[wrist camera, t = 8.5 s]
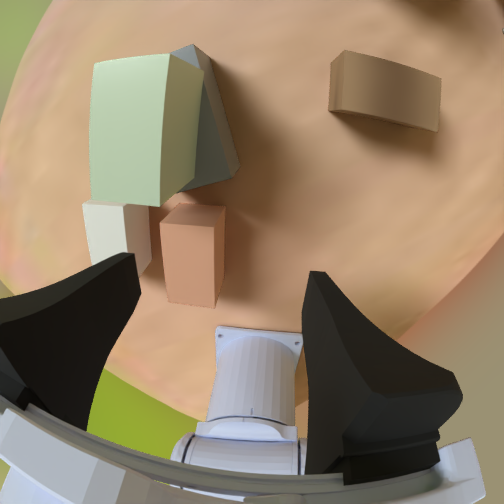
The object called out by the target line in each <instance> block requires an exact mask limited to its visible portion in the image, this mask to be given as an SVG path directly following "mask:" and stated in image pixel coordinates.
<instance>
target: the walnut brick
mask: <svg viewBox="0 0 504 504" xmlns="http://www.w3.org/2000/svg"><path fill="white" fill-rule="evenodd" d="M440 100H441V78H439V77H436V76H434V75H431V74H428V73H426V72H423V71H420V70H417V69H414V68H411V67H408V66H405V65H402V64H399V63H395V62H392V61H388V60H385V59H381V58H377V57H373V56H369V55H365V54H361V53H356V52H351V51H346V50H344V51H343V52H342V53H341V54H340V55H339V56H338V57H337V58H336V59H334V60H333V61H332V62H331V72H330V90H329V105H328V111H334V112H340V113H346V114H352V115H358V116H363V117H368V118H373V119H378V120H382V121H387V122H391V123H395V124H399V125H403V126H407V127H411V128H417V129H423V130H428V131H433V132H438V125H439V114H440Z"/></svg>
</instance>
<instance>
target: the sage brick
mask: <svg viewBox="0 0 504 504" xmlns="http://www.w3.org/2000/svg"><path fill="white" fill-rule="evenodd" d="M203 78H204V71H203V70H201V69H199V68H197V67H195V66H193V65H192V64H190V63H188V62H186V61H184V60H182V59H180V58H178V57H176V56H174V55H172V54H156V55H145V56H136V57H128V58H121V59H115V60H109V61H103V62H98V63H94V71H93V80H92V91H91V104H90V127H89V162H90V185H91V199H92V200H97V201H108V202H119V203H129V204H138V205H148V206H157V207H160V206H161V205H163V204H164V203H165V202H166V201H167V200H168V199H169V198H171V197H172V196H173V195H174V194H175V193H177V192H178V191H179V190H180V189H181V188H183V187H184V186H185V185H186V184H187V183H189V182H190V181H191V180H192V179H194V175H195V160H196V147H197V135H198V124H199V113H200V104H201V95H202V86H203Z"/></svg>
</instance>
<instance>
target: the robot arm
mask: <svg viewBox="0 0 504 504" xmlns="http://www.w3.org/2000/svg"><path fill="white" fill-rule="evenodd" d="M140 295H141V288H140V283H139V277H138V271H137V265H136V259H135V253H127V252H121V253H118V254H116V255H113V256H111V257H109V258H107V259H105V260H103V261H101V262H99V263H97V264H95V265H93V266H91V267H89V268H87V269H85V270H83V271H81V272H79V273H76V274H74V275H72V276H70V277H68V278H66V279H64V280H62V281H59V282H57V283H54V284H52V285H49V286H47V287H44V288H41V289H38V290H34V291H31V292H28V293H25V294H21V295H17V296H13V297H8V298H2V299H0V458H1V459H2V460H4V461H5V462H6V463H7V464H8V465H10V466H11V468H10V470H9V472H8V475H7V477H6V479H5V482H4V484H3V487H2V489H1V492H0V504H473V503H475V502H477V501H478V500H480V499H482V498H484V497H485V495H486V492H485V487H484V483H483V478H482V474H481V471H480V466H479V463H478V459H477V456H476V452H475V449H474V445H473V443H472V439H471V438H470V437H468V438H466V439H462V440H460V441H457V442H454V443H450V444H448V445H445V446H443V447H441V448H439V449H437V445H436V442H437V441H438V440H439V439H440V434H439V431H438V429H439V428H440V427H441V426H442V425H443V424H444V423H445V422H446V421H447V420H448V419H449V418H450V417H451V416H452V415H453V414H454V413H455V412H456V410H457V409H458V408H459V406H460V404H461V402H462V399H463V394H462V391H461V389H460V387H459V385H458V382H457V380H456V378H455V376H454V373H453V372H451V371H449V370H446V369H444V368H442V367H440V366H438V365H435V364H433V363H431V362H429V361H427V360H425V359H423V358H421V357H420V356H418V355H416V354H414V353H413V352H411V351H410V350H408V349H406V348H405V347H403V346H402V345H400V344H399V343H397V342H396V341H395V340H393V339H392V338H390V337H389V336H388V335H386V334H385V333H384V332H382V331H381V330H380V329H379V328H378V327H377V326H375V325H374V324H373V323H372V322H371V321H370V320H368V319H367V318H366V317H365V316H364V315H363V314H362V313H361V312H360V311H359V310H358V309H357V308H356V307H355V306H354V305H353V304H352V302H351V301H350V300H349V299H348V298H347V297H346V296H345V295H344V294H343V292H342V291H341V290H340V289H339V288H338V286H337V285H336V284H335V283H334V282H333V280H332V279H331V278H330V277H329V276H328V275H327V273H326V272H319V271H310V273H309V278H308V283H307V289H306V293H305V298H304V303H303V308H302V334H300V333H288V332H276V331H264V330H254V329H244V328H235V327H226V326H218V327H216V330H215V339H216V364H217V371H216V376H215V380H214V385H213V389H212V394H211V398H210V403H209V407H208V412H207V416H206V421H205V422H198V424H197V428H196V432H195V433H194V432H188V433H186V434H185V435H184V436H183V437H182V438H181V439H180V440H179V441H178V442H177V444H176V445H175V447H174V449H173V452H172V455H171V459H170V460H169V459H165V458H161V457H157V456H153V455H150V454H146V453H143V452H140V451H137V450H133V449H130V448H127V447H124V446H121V445H118V444H116V443H113V442H110V441H108V440H105V439H103V438H100V437H98V436H95V435H92V434H90V433H88V432H86V431H87V425H88V419H89V414H90V409H91V405H92V402H93V398H94V394H95V391H96V388H97V384H98V381H99V379H100V376H101V373H102V370H103V368H104V365H105V363H106V360H107V358H108V356H109V354H110V352H111V350H112V348H113V346H114V344H115V343H116V341H117V339H118V337H119V336H120V334H121V332H122V331H123V329H124V327H125V326H126V324H127V322H128V320H129V319H130V317H131V315H132V314H133V312H134V310H135V307H136V305H137V303H138V300H139V298H140ZM219 334H221V335H219ZM303 345H304V353H305V360H306V368H307V375H308V387H309V407H308V408H309V410H308V436H307V438H299V440H298V435H297V427H296V426H295V380H294V375H295V371H296V368H297V364H298V361H299V357H300V353H301V350H302V346H303ZM297 440H298V443H297ZM154 480H156V481H154ZM157 481H160V482H163V483H167V484H170V485H166V484H163V483H160V482H157Z"/></svg>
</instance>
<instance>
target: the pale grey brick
mask: <svg viewBox="0 0 504 504" xmlns="http://www.w3.org/2000/svg"><path fill="white" fill-rule="evenodd" d="M82 207H83V214H84V222H85V228H86V235H87V241H88V246H89V252H90V257H91V262H92V266H93V265H95V264H97V263H99V262H101V261H103V260H105V259H107V258H109V257H111V256H113V255H116V254H118V253H121V252H127V253H135V259H136V265H137V271H138V277H140V275H141V274H142V273H143V271H144V270H145V269H146V267H147V266H148V265H149V263H150V262H151V261H152V253H151V241H150V226H149V207H148V205H138V204H129V203H119V202H108V201H97V200H92V199H90V200H88V201H86V202H84V203H83V204H82Z"/></svg>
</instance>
